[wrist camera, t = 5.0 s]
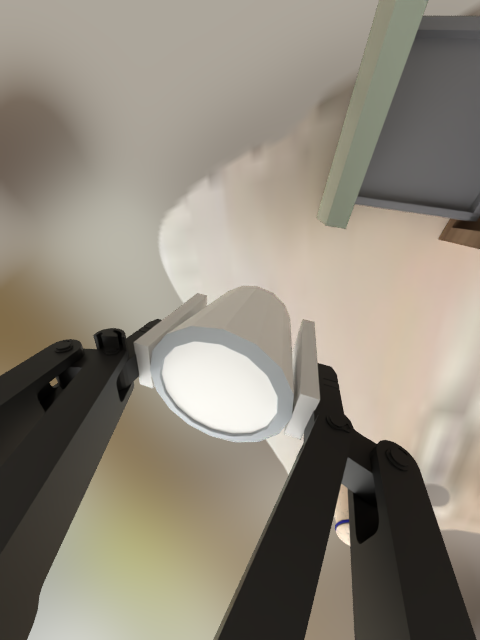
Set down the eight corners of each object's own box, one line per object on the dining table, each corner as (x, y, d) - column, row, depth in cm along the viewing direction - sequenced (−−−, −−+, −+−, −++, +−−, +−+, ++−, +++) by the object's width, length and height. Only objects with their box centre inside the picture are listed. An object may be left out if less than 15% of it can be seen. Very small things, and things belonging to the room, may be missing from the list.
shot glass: (305, 359, 15) (303, 453, 9) (222, 361, 18) (179, 437, 12) (292, 267, 13) (278, 318, 7) (196, 285, 15) (123, 334, 9)
